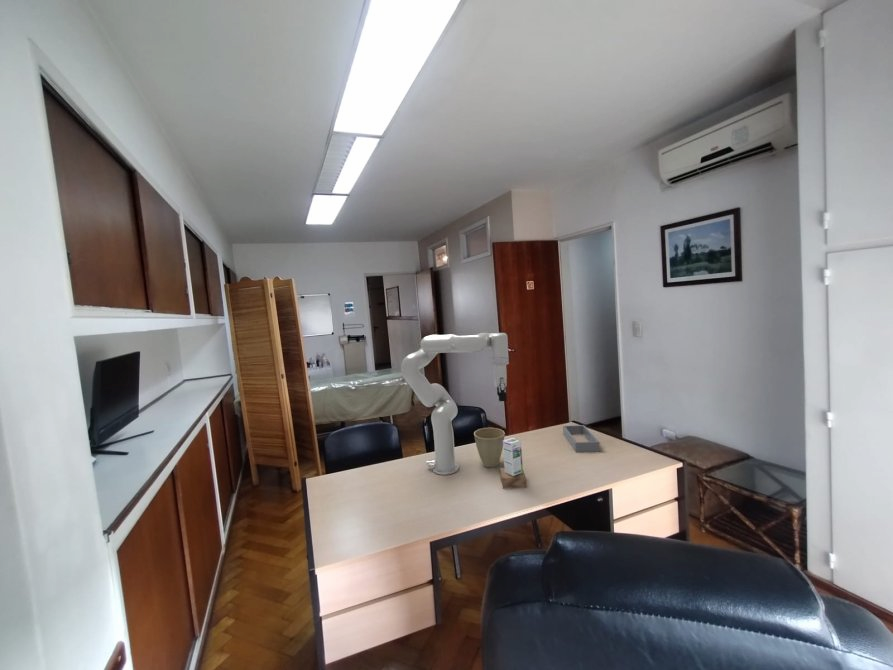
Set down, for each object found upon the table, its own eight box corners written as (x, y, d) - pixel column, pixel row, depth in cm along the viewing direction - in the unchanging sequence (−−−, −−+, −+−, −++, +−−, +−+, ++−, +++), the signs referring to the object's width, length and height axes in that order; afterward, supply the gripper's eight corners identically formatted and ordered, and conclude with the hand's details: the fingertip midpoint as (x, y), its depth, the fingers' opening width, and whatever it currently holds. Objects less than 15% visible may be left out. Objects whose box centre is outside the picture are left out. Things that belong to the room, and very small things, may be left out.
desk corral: (575, 452, 194) (575, 442, 194) (563, 434, 220) (562, 425, 219) (599, 451, 193) (599, 442, 193) (584, 433, 219) (584, 425, 219)
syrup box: (513, 476, 162) (511, 443, 161) (504, 472, 167) (502, 439, 166) (523, 473, 165) (521, 440, 164) (513, 468, 170) (512, 437, 169)
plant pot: (470, 468, 183) (469, 436, 182) (482, 456, 196) (480, 426, 195) (500, 473, 176) (498, 440, 175) (510, 460, 189) (508, 429, 188)
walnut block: (502, 489, 162) (502, 478, 162) (500, 478, 172) (499, 467, 172) (526, 488, 162) (525, 477, 161) (522, 477, 172) (521, 466, 171)
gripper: (490, 358, 178) (492, 393, 179) (492, 364, 160) (494, 403, 162) (506, 357, 177) (508, 393, 179) (510, 363, 160) (512, 403, 162)
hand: (501, 398), depth 170 cm, fingers open, 9 cm apart
